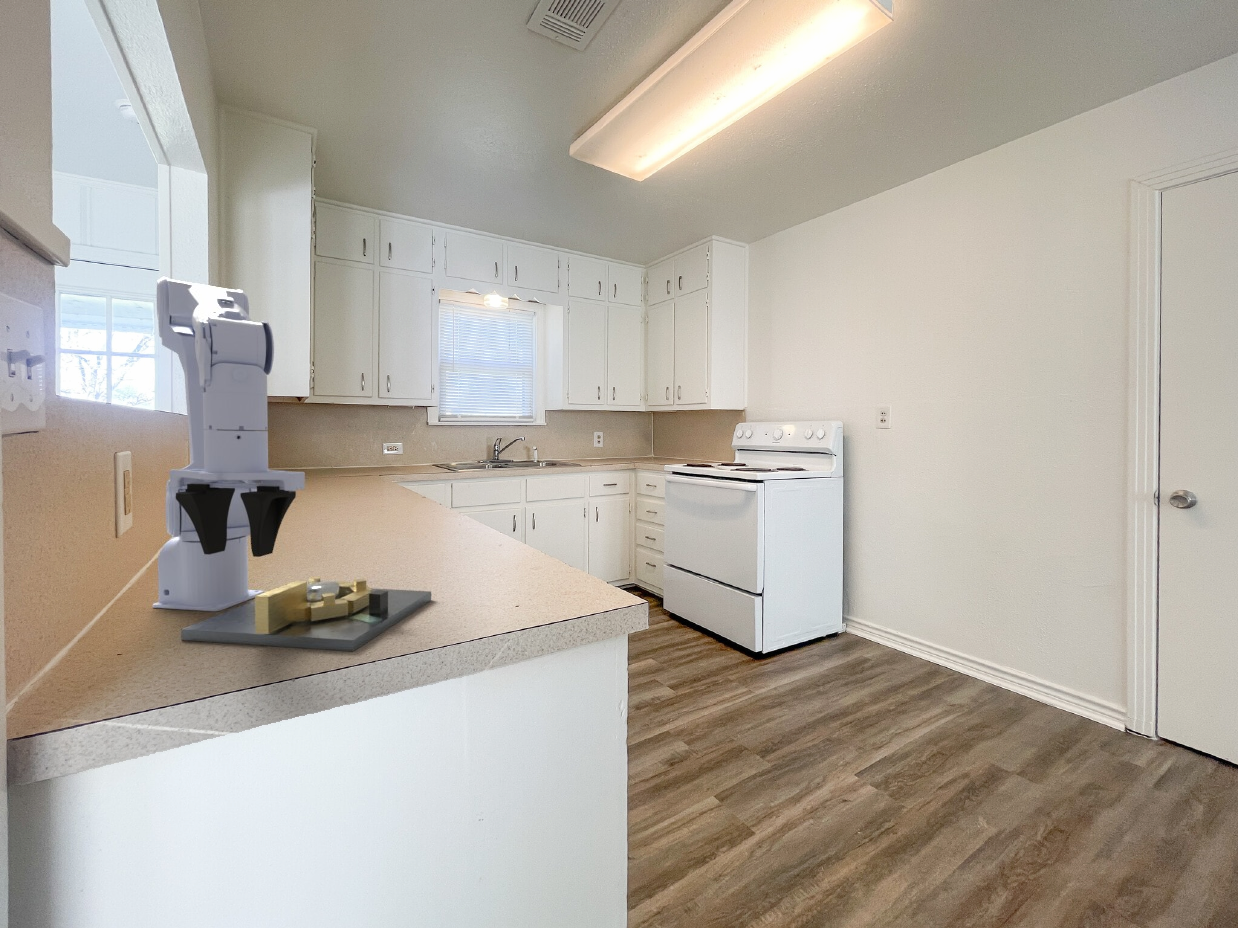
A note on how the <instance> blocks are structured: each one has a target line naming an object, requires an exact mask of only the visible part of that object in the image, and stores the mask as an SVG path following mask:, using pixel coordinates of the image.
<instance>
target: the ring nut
mask: <svg viewBox="0 0 1238 928" xmlns="http://www.w3.org/2000/svg"><path fill="white" fill-rule="evenodd" d="M316 582H321V578H320V576H318V575H317V576H310V577H308V578H307V581H301V580H297V581H296V580H294V581H291V582H289V583H287V584H284V585H281V586H278V587H276V588H273V589H271V590H267V591H264V593H262V594H259V595H257V596H255V598H254V601H255V630H256V633H261V634H270V633H272V632H274V631H276V630H278V629H280V628H282V627H284V626H286V625H288V624H290V623H292V622H295V621H301V622H305V621H307V620H309V619H310V620H311V621H316V620H321V619H327V618H333V617H338V616H344V615H348V613H355V612H357V611H358V610H360V609H362V608H364V607H366V606H368V605H369V593H371V592H372V589H371V588H370V586H368V585H367V579H366V578H358V579H354V580H353V581H339V580H338V581H335V580H334V581H333V582H337V583H339V597H341V599H335V594H334V593H326V594H321V597H322V602H316V603H307V584H311V583H316Z"/></svg>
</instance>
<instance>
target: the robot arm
mask: <svg viewBox="0 0 1238 928" xmlns="http://www.w3.org/2000/svg"><path fill="white" fill-rule="evenodd" d="M156 282H157V283H156V315H157V321H158V335H159V338H161V344H162V346H163V347H165V348H167V349H168V350H170V351H172V352H174V353H175V354H177V356H178V358H179V361H180V363H181V364H180V365H181V367H182V369H183V374H184V385H185V386H184V387H185V400H186V413H187V428H188V443H189V456H190V463H189V464H188V465H187V466H185V467H183V468H177V469H176V468H175V469H169V479H168V480H167V482H166V484H165V485H166V486H165V504H164V507H165V511H164V512H165V526H166V533H167V534H169V535H170V536H171V537H172V538H171V539H169V540H168V541H167V542H165V544H163V546H162V547H161V550H160V551H159V554H158V557H157V577H158V580H157V581H158V582H157V583H158V602H155V603H153V604H152V608H156V609H168V610H189V611H203V612H220V611H223V610H226V609H228V608H230V607H233V606H236V605H239V604H241V603H244V602H247V601H249V600H252V599H255V596H257V595H259V594H262V593H265V590H260V589H259V590H258V589H249V556H248V555H249V554H248V553H249V551H248V546H249V545H248V543H249V542H248V541H249V540H248V536H250V547H251V548H250V550H251V554H252V557H254V558H255V557H256V558H260V557H263V556H267V555H270V554H273V551H274V548H275V544H276V540H277V537H278V534H279V530H280V527H281V525H282V522H283V519H284V517H285V516H286V513H287V512H288V510H289V508H290V506H291V504H292V503H293V502H294V500H295V499H296V498H297V493H296V492H297V491H301V490H305V489H306V476H305V475H306V474H305V473H306V472H304V471H291V470H289V471H288V470H275V469H274V470H273V469H269V445H268V444H269V441H268V440H269V434H268V433H269V430H268V429H269V428H268V425H269V423H268V416H269V415H268V376H269V375H270V374H271V372H272V368H273V364H274V357H275V342H274V334H273V330H272V327H271V325H270V324H269V322H267V321H260V322H256V321H255V322H254V321H253V320H252V319H251V317H250V303H249V298H248V295H246V293H245V292H244V291H243V290H242V289H231V288H224V287H217V286H214V285H213V286H212V285H207V284H206V285H205V284H202V283H201V284H200V283H193V282H189V281H188V282H187V281H184V280H183V281H181V280H176V279H171V278H168V277H165V276H163V277H161V278H160V279H158V280H157V281H156Z"/></svg>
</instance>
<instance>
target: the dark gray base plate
mask: <svg viewBox="0 0 1238 928" xmlns="http://www.w3.org/2000/svg"><path fill="white" fill-rule="evenodd" d="M371 589H372V592H371V593H369V605H368V606H366V607H364V608H362V609H360V610H358V611H357V612H355V613H348V615H344V616H338V617H333V618H327V619H321V620H316V621H311V620H310V619H309V620H307V621H305V622H301V621H295V622H292V623H290V624H288V625H286V626H284V627H282V628H280V629H278V630H276V631H274V632H272V633H270V634H261V633H256V630H255V600H253V601H251V602H248V603H246V604H243V605H241V606H238V607H235V608H233V609H230V610H228V611H225V612H222V613H220V614H217V615H214V616H212V617H209V618H207V619H205V620H201V621H199V622H197V623H194V624H191V625H189V626H187V627H183V628H181V629H180V630H181V631H180V635H181V637H180V638H181V639H180V640H181V641H187V642H189V641H191V642H192V641H193V642H203V643H204V642H207V643H222V644H234V645H235V644H237V645H251V646H253V645H254V646H266V647H267V646H268V647H280V648H281V647H282V648H296V649H297V648H298V649H311V650H326V651H341V652H342V651H343V652H344V651H345V652H355V651H356V650H358V649H359V648H360V647H362V646H364V645H365V644H367V643H368V642H370V641H372V640H373V639H374V638H376V637H377V636H379V635H381V634H382V633H384V632H385V631H387V630H388V629H390V628H391V627H393V626H394V625H396V624H397V623H398V622H400V621H401V620H403V619H404V618H406V617H408V616H409V615H411V614H412V613H414V612H415V611H417V610H418V609H420V608H421V607H423V606H424V605H426V604H428V603H429V602H430V601H432V591H429V590H428V591H427V590H411V589H409V590H408V589H390V588H371ZM326 593H334V594H335V599H341V597H339V583H337V582H334V581H329V580H327V581H320V582H316V583H311V584H308V583H307V603H316V602H322V597H321V594H326Z"/></svg>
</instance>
